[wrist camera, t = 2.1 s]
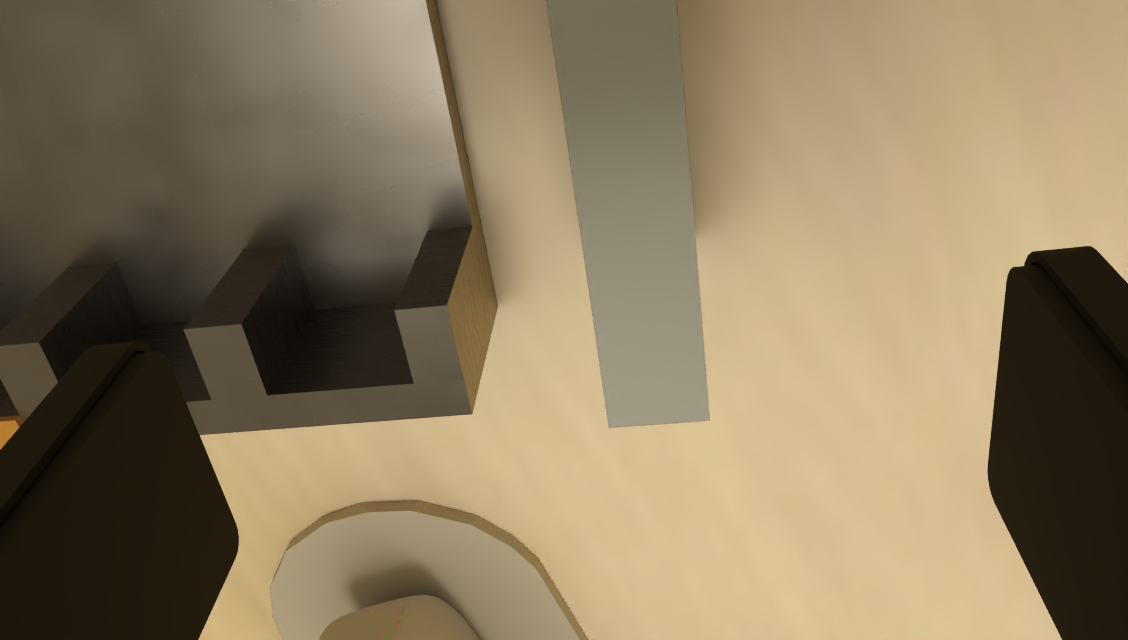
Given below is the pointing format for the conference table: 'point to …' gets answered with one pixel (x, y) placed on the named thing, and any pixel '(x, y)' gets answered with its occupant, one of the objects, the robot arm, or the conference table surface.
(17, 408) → the rack
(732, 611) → the conference table surface
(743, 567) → the conference table surface
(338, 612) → the wireless router
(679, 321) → the panel
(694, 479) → the conference table surface
